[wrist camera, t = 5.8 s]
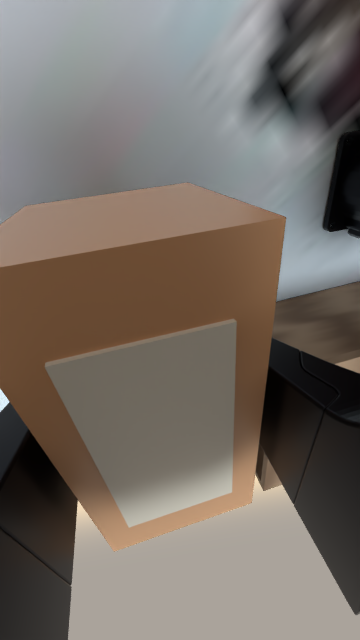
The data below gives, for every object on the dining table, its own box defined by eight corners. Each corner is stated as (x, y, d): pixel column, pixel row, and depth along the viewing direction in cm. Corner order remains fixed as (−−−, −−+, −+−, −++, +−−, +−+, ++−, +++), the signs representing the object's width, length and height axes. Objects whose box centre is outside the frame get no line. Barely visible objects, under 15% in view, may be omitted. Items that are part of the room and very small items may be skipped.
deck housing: (228, 418, 32) (263, 491, 25) (226, 314, 23) (278, 380, 17) (331, 387, 34) (389, 446, 27) (363, 280, 25) (459, 327, 19)
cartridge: (25, 205, 7) (-81, 284, 3) (187, 182, 8) (290, 218, 4) (108, 416, 12) (114, 555, 8) (202, 390, 13) (252, 506, 9)
